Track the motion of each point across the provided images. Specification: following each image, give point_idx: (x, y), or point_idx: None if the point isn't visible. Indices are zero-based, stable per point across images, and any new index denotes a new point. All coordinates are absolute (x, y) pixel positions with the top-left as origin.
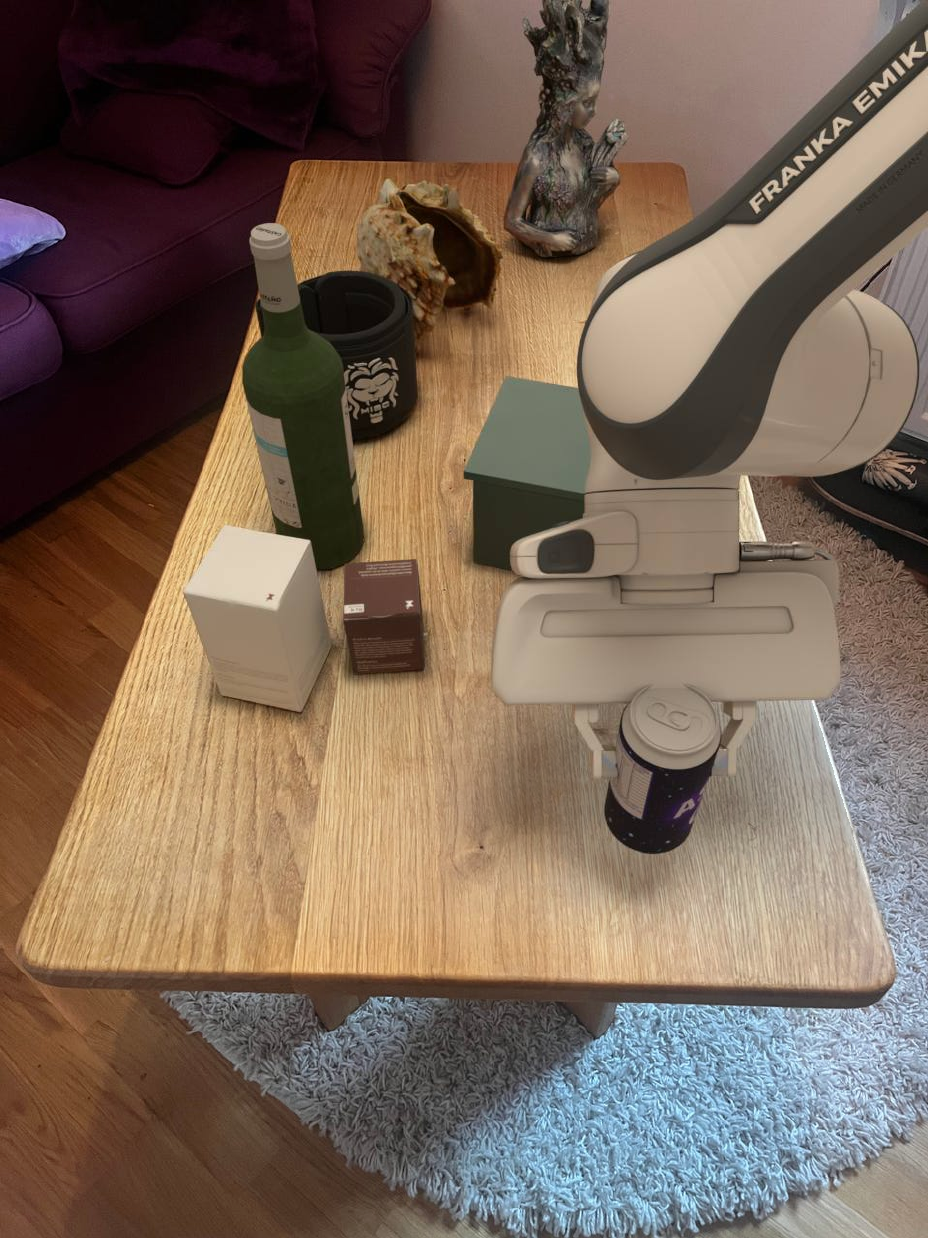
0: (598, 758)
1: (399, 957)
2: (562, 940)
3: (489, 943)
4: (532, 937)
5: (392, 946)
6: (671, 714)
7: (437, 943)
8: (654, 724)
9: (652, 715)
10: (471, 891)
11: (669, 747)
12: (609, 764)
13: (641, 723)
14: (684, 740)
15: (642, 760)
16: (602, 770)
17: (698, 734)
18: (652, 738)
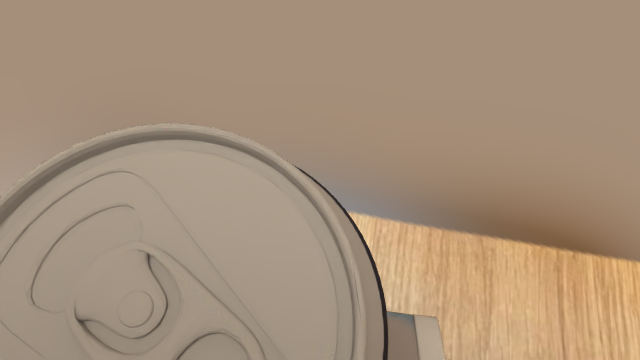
0: (429, 351)
1: (617, 274)
2: (404, 264)
3: (499, 274)
4: (442, 273)
5: (629, 290)
6: (149, 343)
7: (568, 285)
8: (254, 293)
9: (247, 344)
10: (523, 353)
11: (231, 164)
12: (392, 334)
13: (314, 312)
14: (153, 194)
15: (335, 200)
16: (413, 324)
17: (80, 211)
18: (288, 219)
